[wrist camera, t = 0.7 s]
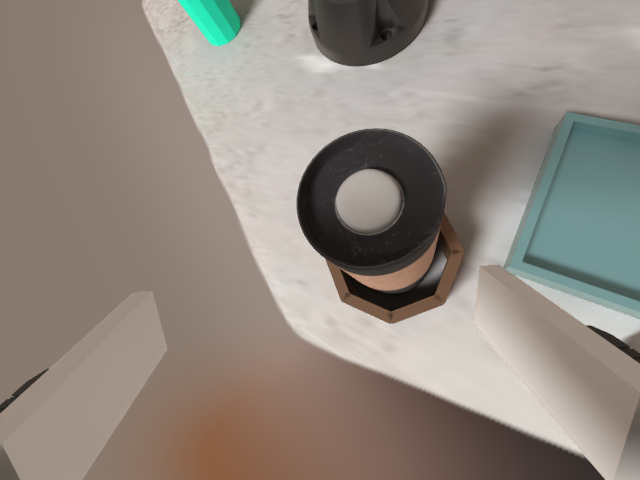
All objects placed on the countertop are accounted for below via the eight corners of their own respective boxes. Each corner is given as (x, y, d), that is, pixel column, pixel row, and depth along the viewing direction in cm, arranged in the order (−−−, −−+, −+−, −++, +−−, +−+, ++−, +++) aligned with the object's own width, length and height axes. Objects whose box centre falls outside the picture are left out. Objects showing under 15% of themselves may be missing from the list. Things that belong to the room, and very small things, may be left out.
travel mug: (345, 248, 36) (271, 176, 18) (406, 213, 35) (394, 98, 17) (379, 309, 34) (334, 301, 15) (445, 274, 33) (484, 218, 14)
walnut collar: (363, 193, 37) (356, 178, 33) (470, 228, 33) (478, 215, 29) (321, 290, 36) (309, 286, 32) (428, 338, 32) (429, 341, 28)
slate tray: (556, 126, 33) (566, 111, 31) (767, 168, 28) (799, 154, 25) (502, 270, 31) (509, 266, 29) (714, 345, 26) (744, 348, 24)
